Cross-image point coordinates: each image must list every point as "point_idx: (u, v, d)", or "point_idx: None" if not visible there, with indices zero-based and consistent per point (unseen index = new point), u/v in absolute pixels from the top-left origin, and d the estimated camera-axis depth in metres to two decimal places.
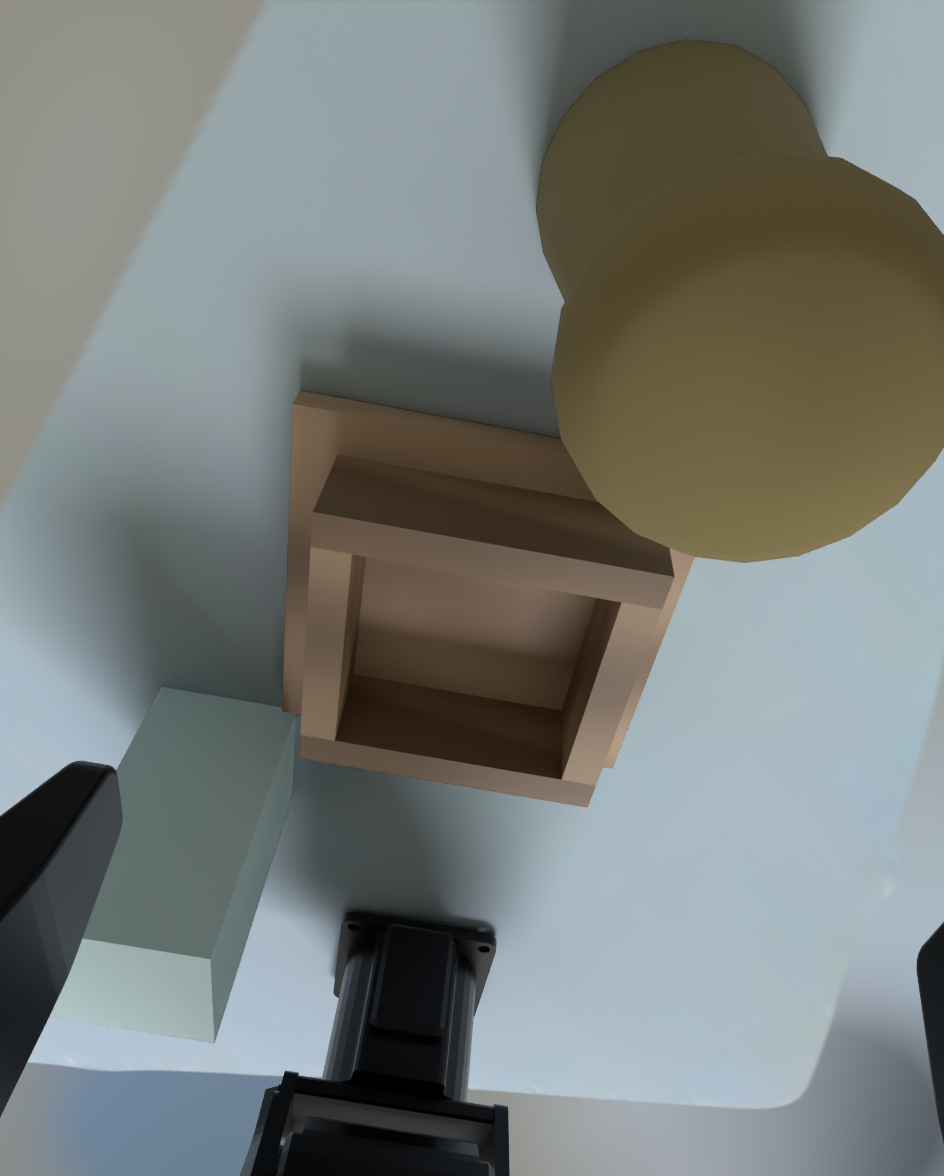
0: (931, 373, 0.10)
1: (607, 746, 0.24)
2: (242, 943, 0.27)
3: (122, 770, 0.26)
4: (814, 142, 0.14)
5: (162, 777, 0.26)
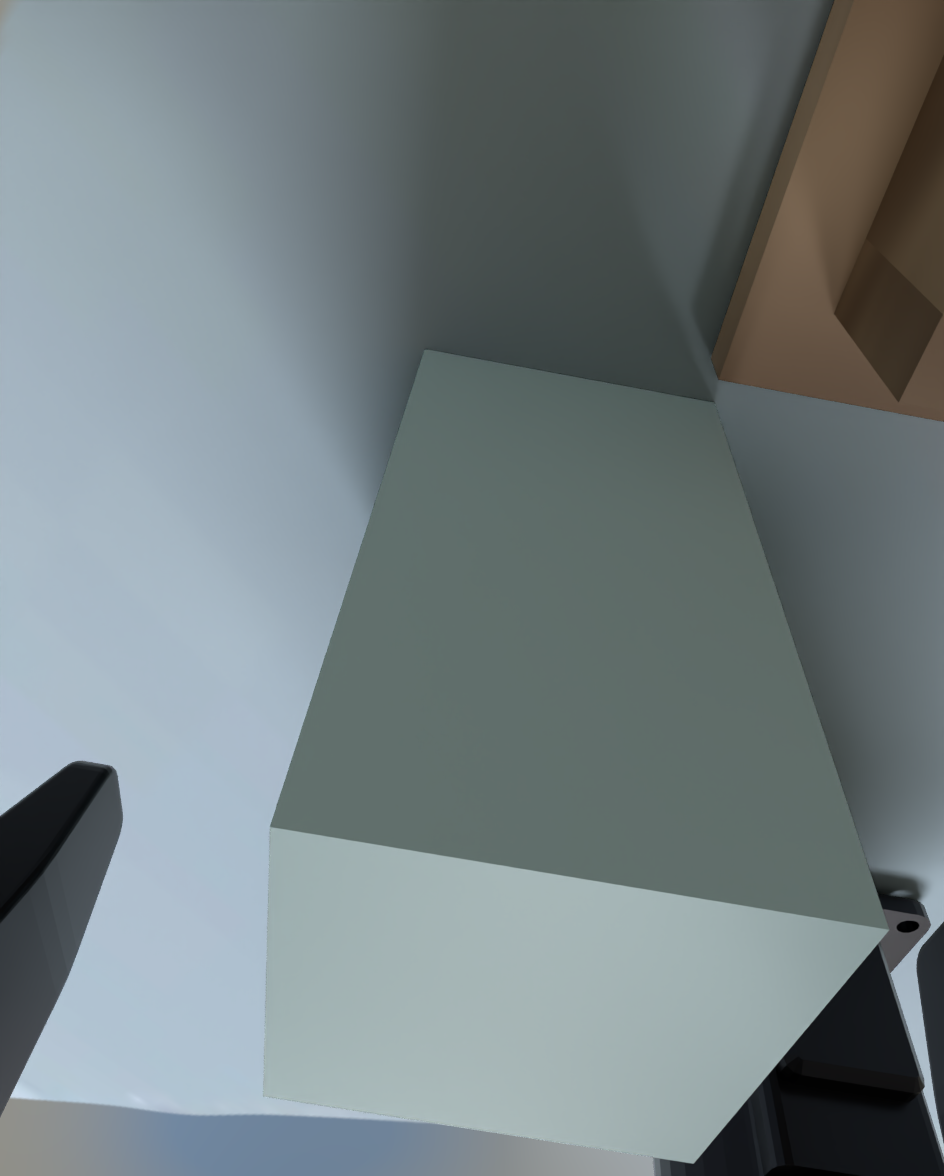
0: None
1: None
2: None
3: (401, 467, 0.10)
4: None
5: (500, 485, 0.10)
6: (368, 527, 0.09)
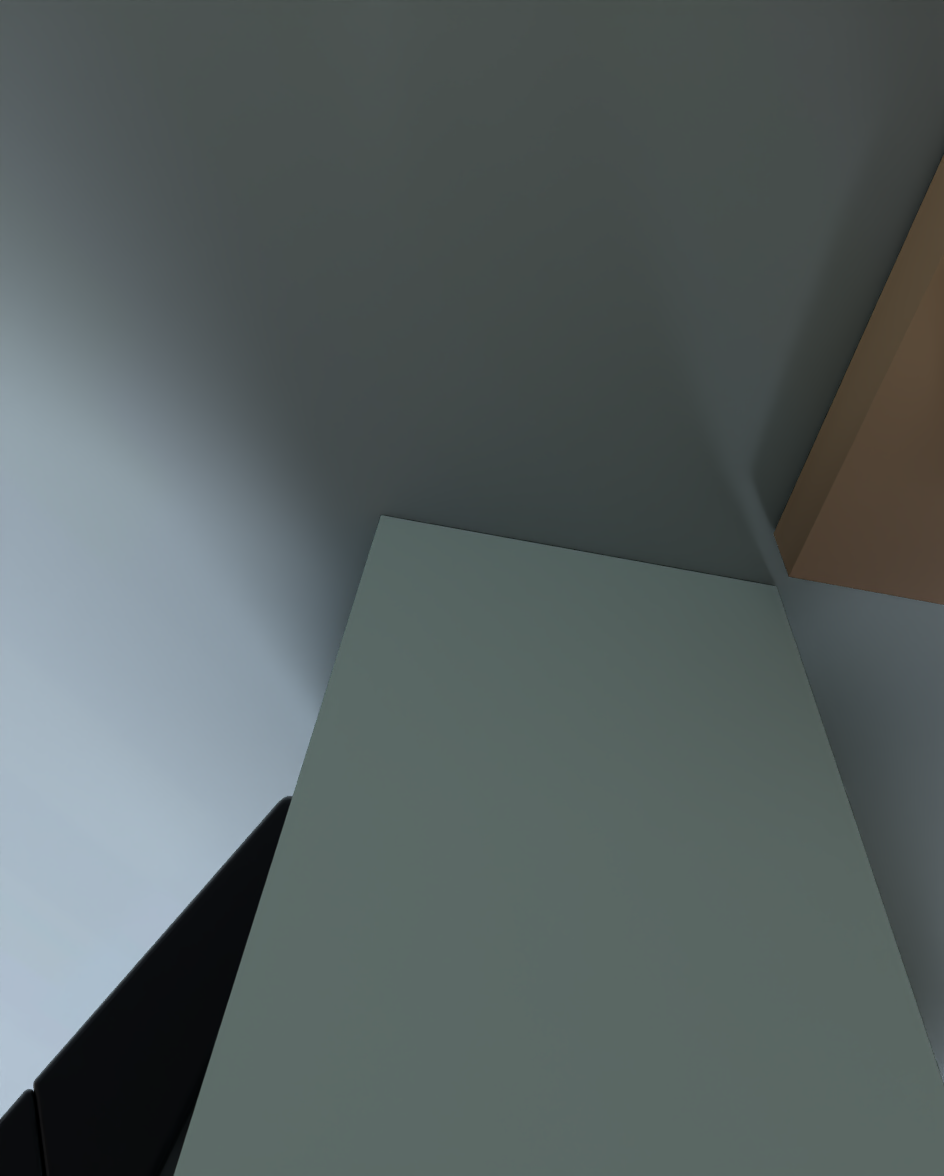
0: None
1: None
2: None
3: (325, 764, 0.07)
4: None
5: (478, 791, 0.07)
6: (256, 919, 0.06)
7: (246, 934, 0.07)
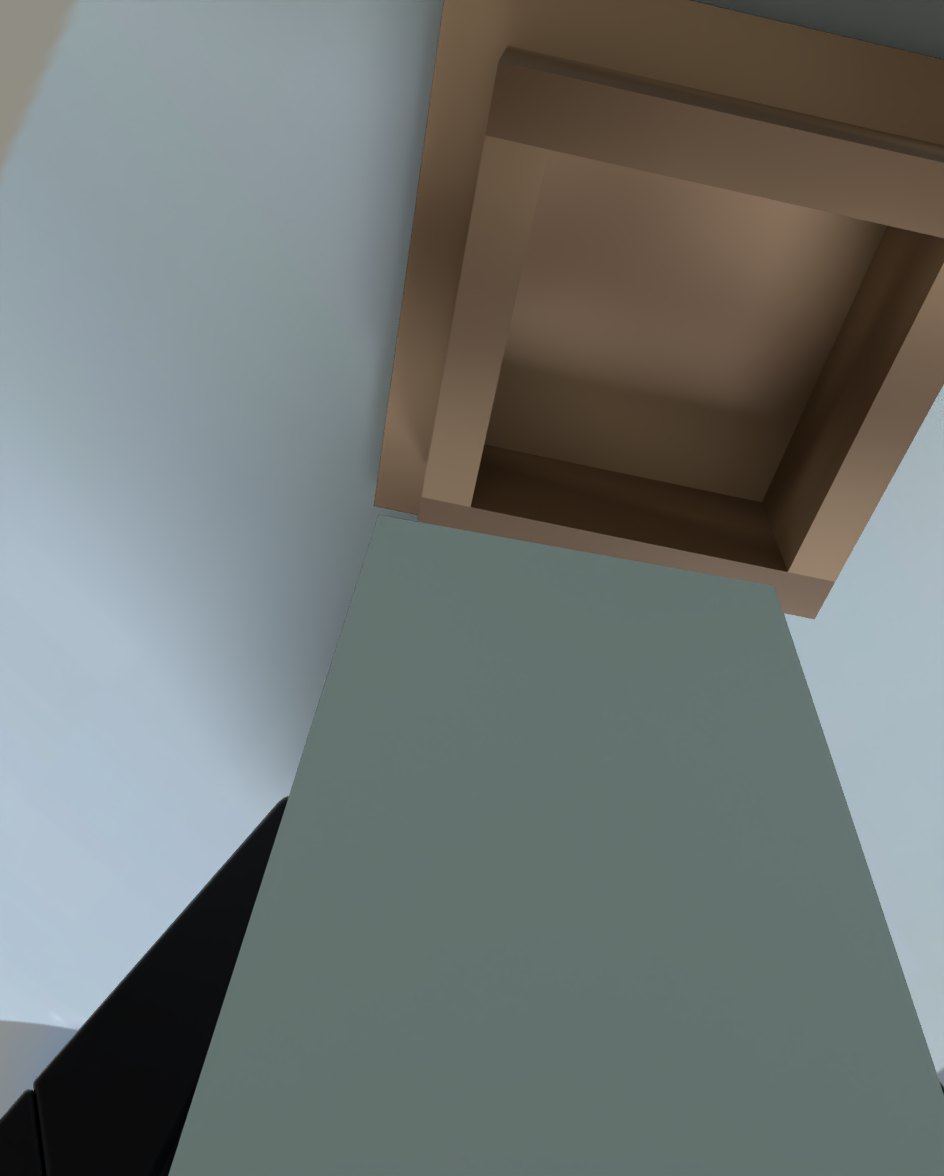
0: None
1: (868, 513, 0.17)
2: None
3: (322, 764, 0.07)
4: None
5: (474, 791, 0.07)
6: (253, 918, 0.06)
7: None
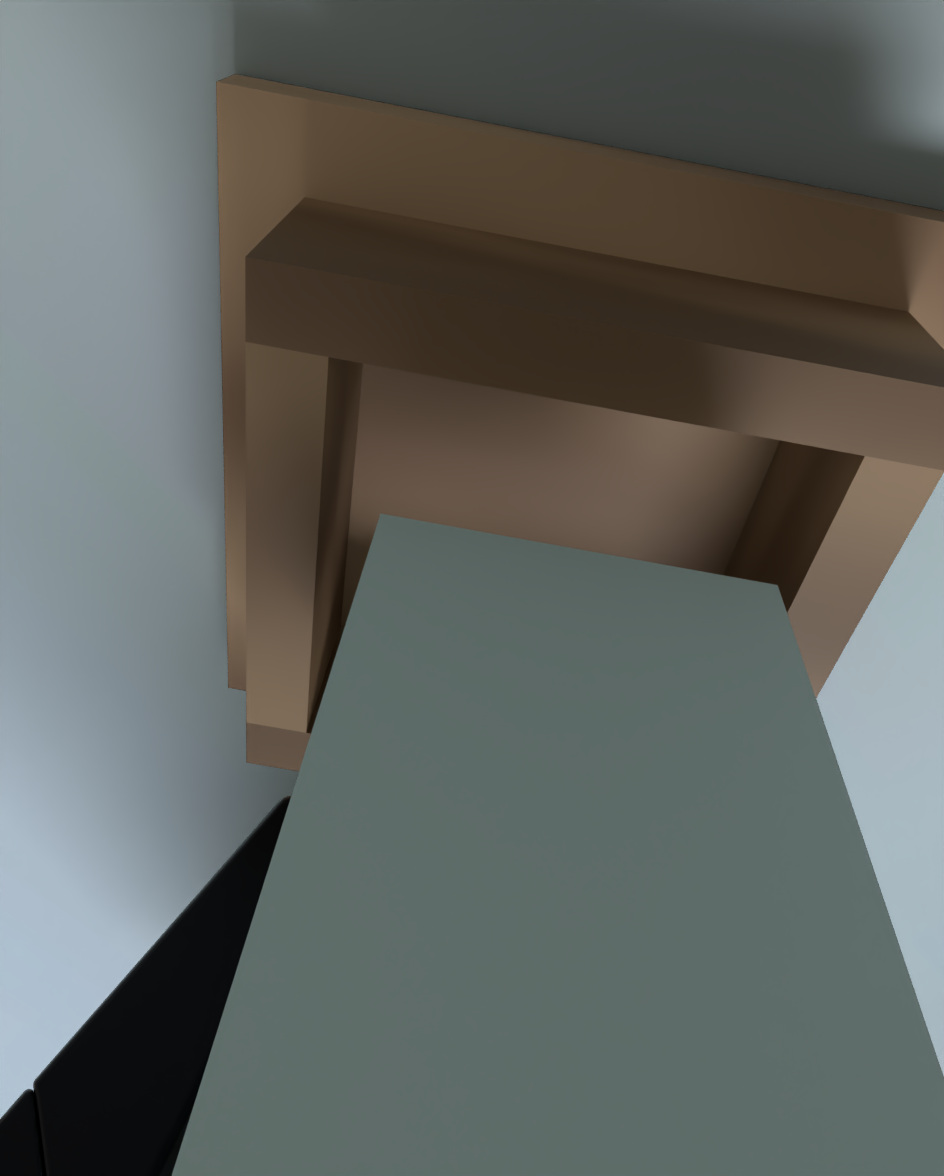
0: None
1: None
2: None
3: (324, 763, 0.07)
4: None
5: (477, 790, 0.07)
6: (255, 919, 0.06)
7: (246, 934, 0.07)
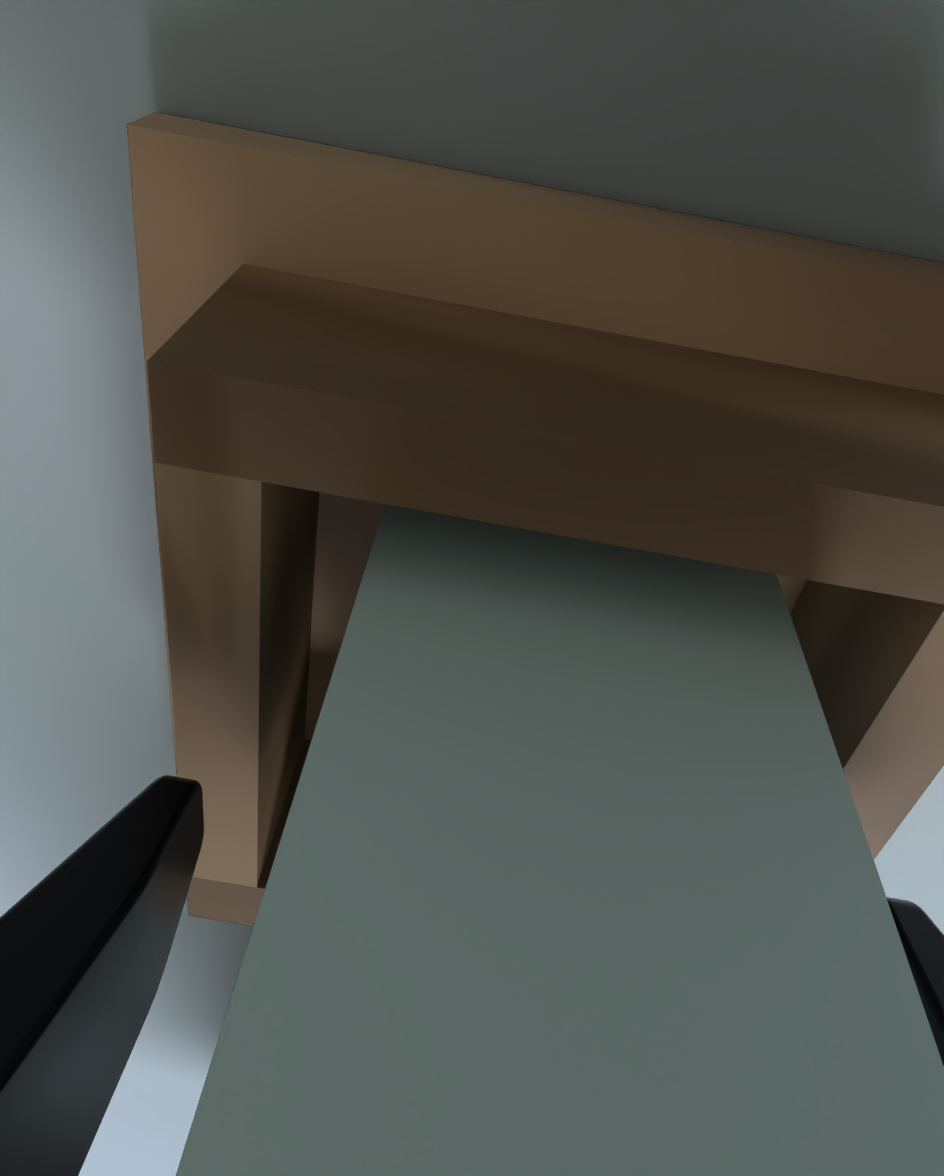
0: None
1: None
2: None
3: (361, 643, 0.08)
4: None
5: (492, 666, 0.08)
6: (309, 753, 0.07)
7: (94, 909, 0.07)
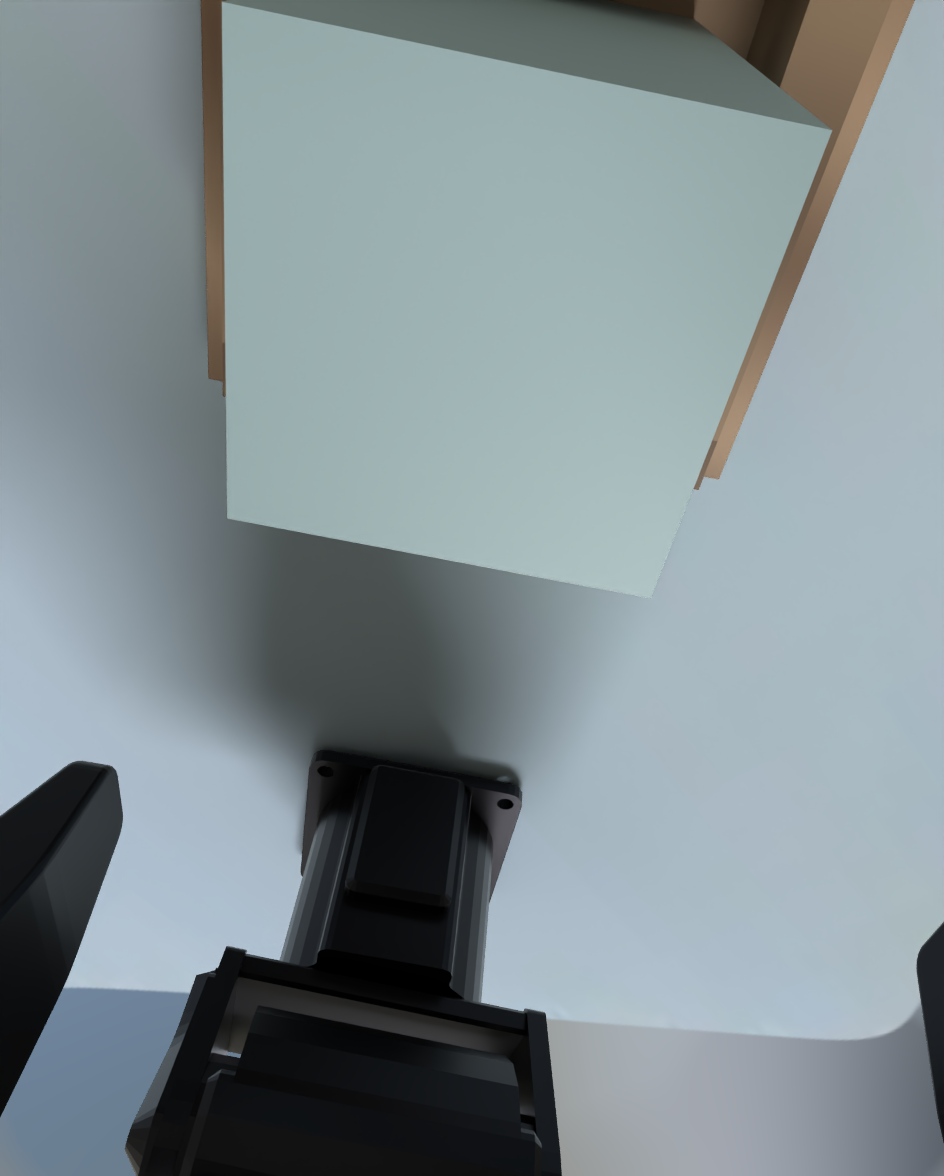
0: None
1: (748, 350, 0.14)
2: None
3: None
4: None
5: None
6: None
7: None
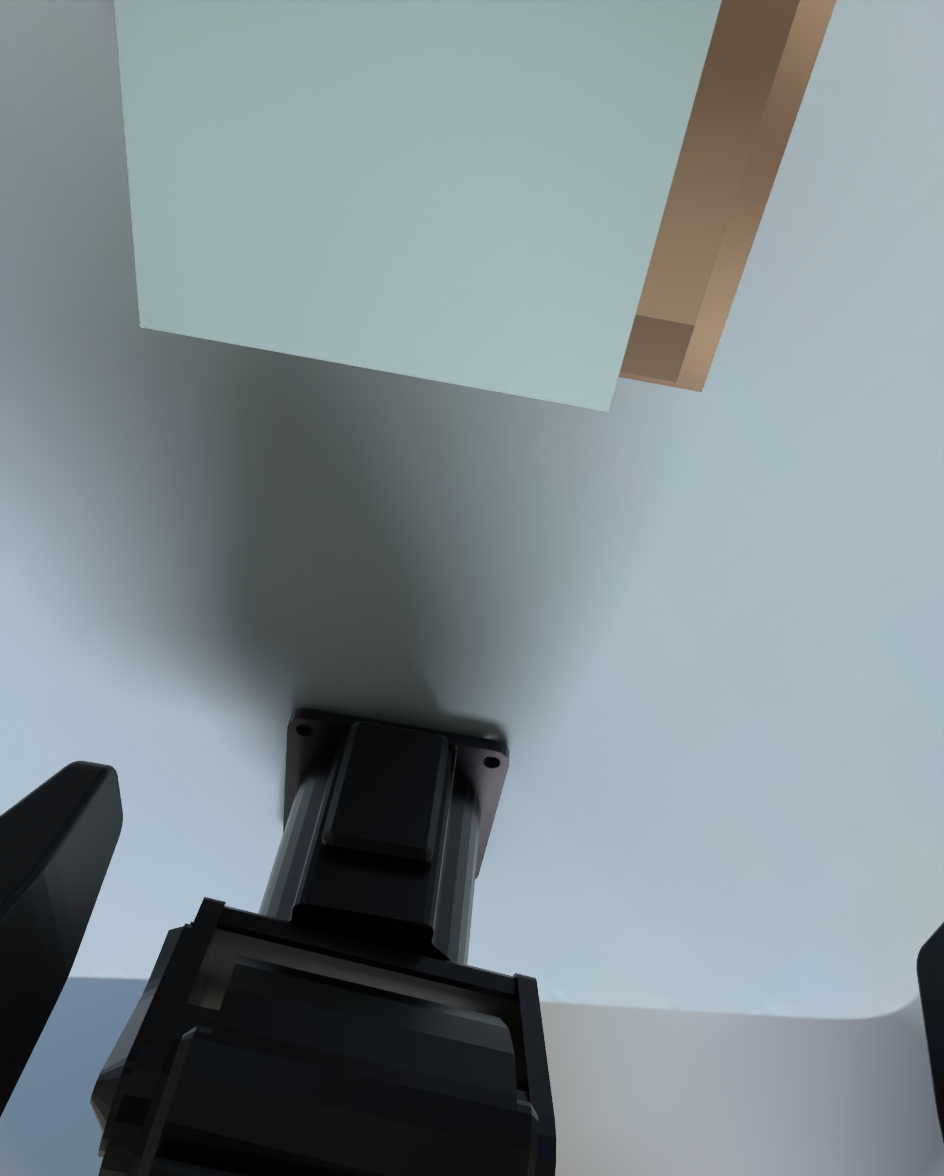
0: None
1: (723, 218, 0.13)
2: None
3: None
4: None
5: None
6: None
7: None
